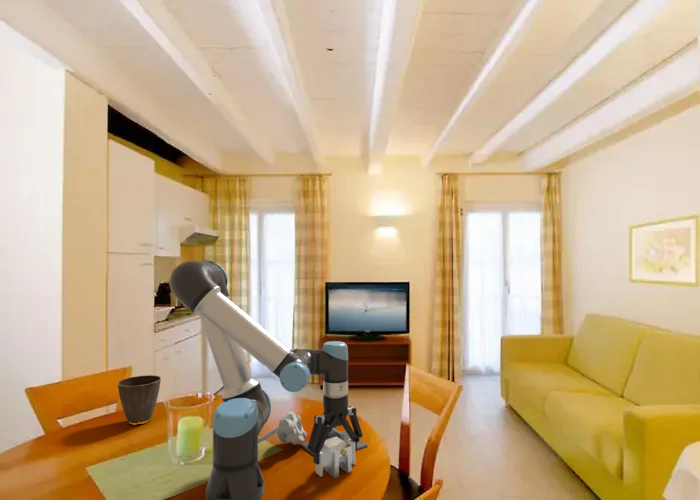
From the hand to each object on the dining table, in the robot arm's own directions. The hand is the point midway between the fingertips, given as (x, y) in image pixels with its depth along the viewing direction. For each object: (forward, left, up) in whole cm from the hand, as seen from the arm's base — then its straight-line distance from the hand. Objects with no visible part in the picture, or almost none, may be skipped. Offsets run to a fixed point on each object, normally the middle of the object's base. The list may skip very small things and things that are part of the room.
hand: (335, 468), depth 124 cm
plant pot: (-41, +75, 0) cm, 86 cm away
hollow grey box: (0, 0, 0) cm, 0 cm away
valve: (-8, +23, 0) cm, 25 cm away
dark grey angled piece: (+8, +13, 0) cm, 15 cm away
